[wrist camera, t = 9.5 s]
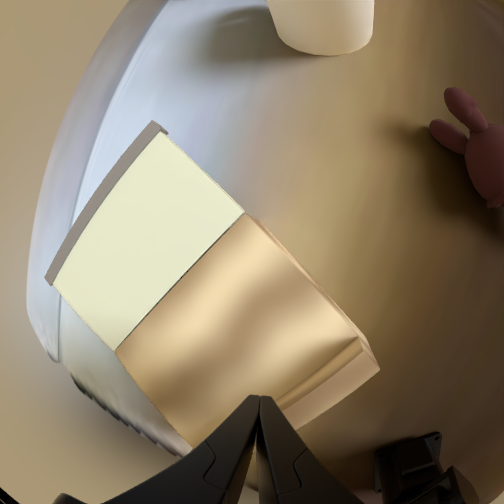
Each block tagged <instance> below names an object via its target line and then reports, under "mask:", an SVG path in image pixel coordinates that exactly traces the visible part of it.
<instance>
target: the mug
mask: <svg viewBox="0 0 504 504" xmlns="http://www.w3.org/2000/svg"><path fill="white" fill-rule="evenodd" d="M266 1H267V4H268V7H269V10H270V13H271V15H272V18H273V21H274V24H275V27H276V30H277V33H278V36H279V38H280V39H281V40H282V41H283V42H284V43H285V44H286V45H288V46H290V47H292V48H294V49H296V50H298V51H301V52H305V53H309V54H312V55H324V56H334V55H344V54H348V53H351V52H354V51H357V50H359V49H361V48H362V47H363V46H365V45H366V44H367V43H368V42H369V40H370V38H371V36H372V29H373V15H374V0H266Z"/></svg>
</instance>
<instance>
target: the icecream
mask: <svg viewBox="0 0 504 504" xmlns="http://www.w3.org/2000/svg"><path fill="white" fill-rule="evenodd" d="M444 99H445V103H446V105H447V107H448V109H449V111H450V112H451V113H452V114H453V115H454V116H455V117H456V118H457V119H458V120H459V121H460V122H462V123H464V124H465V125H466V126H467V127H468V128H469V129H470V137H469V140H468V139H467V137H466V136H465V135H464V134H463V133H462V132H461V131H459V130H458V129H457V128H456V127H454V126H453V125H452V124H449V123H447V122H445V121H443V120H440V119H434V120H433V121H432V122H431V123H430V125H429V130H430V132H431V134H432V136H433V137H434V138H435V139H436V140H437V141H438V142H439V143H440V144H441V145H443V146H445V147H447V148H448V149H450V150H452V151H454V152H456V153H459V154H462V155H465V161H466V165H467V170H468V174H469V176H470V178H471V181H472V183H473V185H474V187H475V188H476V190H477V191H478V193H479V194H480V195H481V197H482V198H484V199H486V208H487V209H491V208H492V207H499V206H500V205H501V206H503V207H504V126H503V125H500V124H487V122H486V120H485V118H484V116H483V115H482V113H481V112H480V110H479V109H478V108H477V104H478V103H477V101H476V100H475V99H474V98H472V97H470V96H468V95H467V94H466V93H465V92H464V91H463V90H461V89H459V88H457V87H452V88H447V89H446V90H445V92H444Z"/></svg>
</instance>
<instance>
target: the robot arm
mask: <svg viewBox="0 0 504 504" xmlns="http://www.w3.org/2000/svg"><path fill="white" fill-rule="evenodd" d="M256 432H257V433H256ZM437 436H438V437H437ZM436 437H437V438H436ZM255 440H256V460H257V475H258V490H259V504H364V503H363V502H362V501H361V500H360V499H358V498H357V497H356V496H355V495H354V494H353V493H351V492H350V491H349V490H348V489H347V488H346V487H345V486H344V485H342V484H341V483H340V482H339V481H338V480H337V479H336V478H335V477H334V476H333V475H332V474H330V473H329V472H328V471H327V470H326V469H325V468H324V467H323V466H322V465H321V463H320V462H319V461H318V460H317V459H316V457H315V456H314V455H313V454H312V452H311V451H310V450H309V449H308V447H307V446H306V445H305V443H304V442H303V441H302V439H301V438H300V436H299V435H298V434H297V432H296V431H295V430H294V428H293V427H292V425H291V424H290V422H289V421H288V420H287V418H286V417H285V415H284V414H283V413H282V411H281V410H280V408H279V407H278V405H277V404H276V402H275V401H274V399H273V398H272V397H271V396H264V395H262V396H259V395H252V394H250V395H248V396H247V397H246V398H245V399H244V401H243V402H242V403H241V404H240V405H239V406H238V407H237V408H236V409H235V410H234V411H233V412H232V413H231V414H230V415H229V416H228V417H227V418H226V419H225V420H224V421H223V422H222V423H221V424H220V425H219V426H218V427H217V428H216V429H215V430H214V431H213V432H212V433H211V434H210V435H209V436H208V437H207V438H206V439H205V440H204V441H202V442H201V443H200V444H199V445H198V446H197V447H196V448H194V449H193V450H192V451H191V452H190V453H188V454H187V455H186V456H184V457H183V458H181V459H180V460H179V461H177V462H175V463H174V464H172V465H171V466H169V467H168V468H166V469H164V470H163V471H161V472H159V473H158V474H156V475H154V476H153V477H151V478H149V479H148V480H146V481H144V482H142V483H141V484H139V485H137V486H135V487H133V488H131V489H130V490H128V491H126V492H124V493H122V494H120V495H118V496H116V497H114V498H112V499H110V500H108V501H106V502H104V503H101V504H238V501H239V498H240V494H241V491H242V488H243V485H244V481H245V478H246V474H247V471H248V468H249V464H250V461H251V457H252V454H253V450H254V446H255ZM441 440H442V435H441V433H440V432H435V433H433V434H430V435H427V436H424V437H421V438H418V439H415V440H412V441H408V442H405V443H401V444H398V445H394V446H390V447H386V448H382V449H379V450H377V451H376V452H375V454H374V456H375V493H382V499H383V504H479V497H478V495H477V493H476V491H475V490H474V488H473V486H472V484H471V483H470V482H469V481H468V480H467V479H466V478H465V477H464V476H463V475H462V474H461V473H460V472H459V471H458V470H457V469H456V468H455V467H454V466H453V465H452V466H451V467H450V468H448V469H447V471H446V472H445V473H444V471H443V469H442V466H441V464H440V462H439V455H440V448H441ZM380 453H382V454H380ZM378 454H380V455H378ZM0 504H19V503H18V502H17V501H16V500H14V499H13V498H12V497H11V496H9V495H8V494H7V493H6V492H5V491H4V490H2V489H1V488H0ZM53 504H87V503H84V502H82V501H80V500H78V499H76V498H74V497H72V496H70V495H68V494H65V493H61V494H60V495H59V496H58V497H57V498H56V499H55V501H54V502H53Z"/></svg>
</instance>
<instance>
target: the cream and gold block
mask: <svg viewBox="0 0 504 504" xmlns="http://www.w3.org/2000/svg"><path fill="white" fill-rule="evenodd" d="M114 353H115V354H116V356H117V357H118V359H119V360H120V362H121V363H122V364H123V366H124V367H125V369H126V370H127V371H128V373H129V374H130V375H131V377H132V378H133V380H134V381H135V382H136V383H137V385H138V386H139V387H140V389H141V390H142V391H143V392H144V394H145V395H146V396H147V397H148V399H149V400H150V401H151V402H152V404H153V405H154V406H155V407H156V408H157V409H158V411H159V412H160V413H161V414H162V415H163V416H164V418H165V419H166V420H167V421H168V422H169V423H170V424H171V425H172V426H173V428H174V429H175V430H176V431H177V432H178V433H179V434H180V435H181V436H182V437H183V438H184V439H185V440H186V441H187V442H188V443H189V444H190V445H191V446H192V447H193V449H194V448H196V447H197V446H198V445H199V444H200V443H201V442H202V441H204V440H205V439H206V438H207V437H208V436H209V435H210V434H211V433H212V432H213V431H214V430H215V429H216V428H217V427H218V426H219V425H220V424H221V423H222V422H223V421H224V420H225V419H226V418H227V417H228V416H229V415H230V414H231V413H232V412H233V411H234V410H235V409H236V408H237V407H238V406H239V405H240V404H241V403H242V402H243V401H244V399H245V398H246V397H247V396H248V395H250V394H252V395H259V396H262V395H264V396H271V397H272V398H273V399H274V401H275V402H276V404H277V405H278V407H279V408H280V410H281V411H282V413H283V414H284V415H285V417H286V418H287V420H288V421H289V422H290V424H291V425H292V427H293V428H294V430H296V429H298V428H300V427H301V426H303V425H305V424H306V423H308V422H309V421H311V420H313V419H314V418H316V417H317V416H319V415H320V414H322V413H323V412H325V411H326V410H328V409H329V408H331V407H332V406H333V405H335V404H336V403H338V402H339V401H341V400H342V399H343V398H345V397H346V396H347V395H349V394H350V393H351V392H353V391H354V390H355V389H357V388H358V387H359V386H361V385H362V384H363V383H365V382H366V381H367V380H368V379H370V378H371V377H372V376H373V375H374V374H376V373H377V372H378V371H379V370H380V368H379V366H378V364H377V361H376V359H375V357H374V355H373V353H372V350H371V348H370V346H369V344H368V342H367V340H366V337H365V336H364V335H363V334H362V333H361V331H360V330H359V329H358V328H357V327H356V326H355V325H354V323H353V322H352V321H351V320H350V319H349V318H348V317H347V316H346V314H345V313H344V312H343V311H342V310H341V309H340V308H339V307H338V306H337V304H336V303H335V302H334V301H333V300H332V299H331V298H330V297H329V296H328V294H327V293H326V292H325V291H324V290H323V289H322V288H321V287H320V286H319V285H318V283H317V282H316V281H315V280H314V279H313V278H312V277H311V276H310V275H309V274H308V273H307V271H306V270H305V269H304V268H303V267H302V266H301V265H300V264H299V263H298V262H297V261H296V260H295V259H294V257H293V256H292V255H291V254H290V253H289V252H288V251H287V250H286V249H285V248H284V247H283V246H282V245H281V244H280V242H279V241H278V240H277V239H276V238H275V237H274V236H273V235H272V234H271V233H270V232H269V231H268V230H267V229H266V228H265V227H264V226H263V224H262V223H261V222H259V221H258V220H256V219H254V218H252V217H251V216H249V215H247V214H246V213H245V214H244V215H243V216H242V217H241V218H240V219H239V220H238V221H237V222H236V223H235V224H234V225H233V226H232V227H231V228H230V229H229V230H228V231H227V232H226V233H225V234H224V235H223V236H222V237H221V238H220V239H219V240H218V241H217V242H216V243H215V244H214V245H213V246H212V247H211V248H210V249H209V250H208V251H207V252H206V254H205V255H204V256H203V257H202V258H201V259H200V260H199V261H198V262H197V263H196V264H195V265H194V266H193V267H192V268H191V269H190V270H189V271H188V272H187V273H186V274H185V276H184V277H183V278H182V279H181V280H180V281H179V282H178V283H177V284H176V285H175V286H174V287H173V288H172V289H171V290H170V292H169V293H168V294H167V295H166V296H165V297H164V298H163V299H162V300H161V301H160V302H159V303H158V304H157V306H156V307H155V308H154V309H153V310H152V311H151V312H150V313H149V314H148V315H147V316H146V318H145V319H144V320H143V321H142V322H141V323H140V324H139V325H138V326H137V327H136V329H135V330H134V331H133V332H132V333H131V334H130V335H129V336H128V337H127V339H126V340H125V341H124V342H123V343H122V344H121V345H120V346H119V348H118V349H117V350H116V351H115V352H114ZM256 433H257V432H256ZM193 449H192V450H193ZM192 450H191V451H192ZM191 451H190V452H191ZM254 452H256V440H255V446H254V450H253V453H254Z"/></svg>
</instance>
